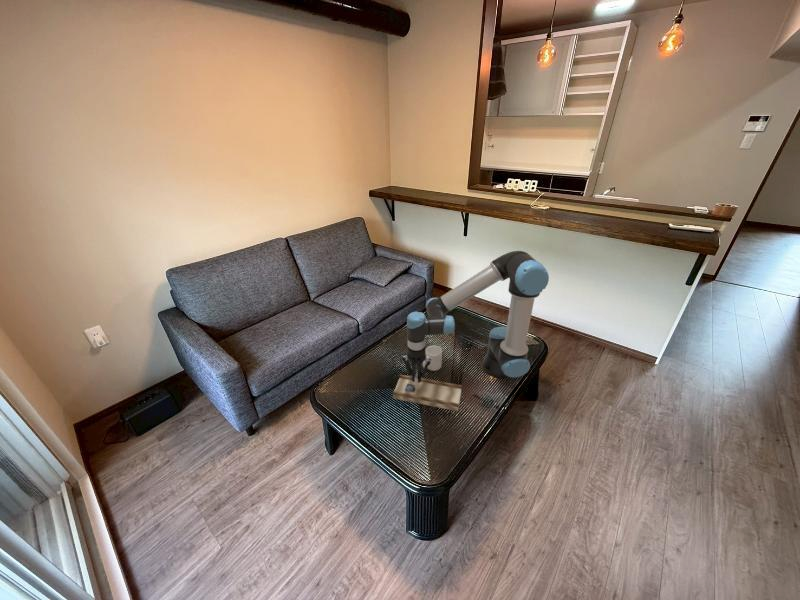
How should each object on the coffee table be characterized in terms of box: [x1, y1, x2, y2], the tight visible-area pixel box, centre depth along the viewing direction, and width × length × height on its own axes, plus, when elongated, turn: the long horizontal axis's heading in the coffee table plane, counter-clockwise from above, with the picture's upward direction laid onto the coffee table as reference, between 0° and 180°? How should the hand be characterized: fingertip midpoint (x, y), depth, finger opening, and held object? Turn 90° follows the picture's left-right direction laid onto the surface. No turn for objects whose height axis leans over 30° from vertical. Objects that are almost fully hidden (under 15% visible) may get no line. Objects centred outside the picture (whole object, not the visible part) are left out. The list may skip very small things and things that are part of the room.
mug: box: [422, 345, 443, 372], centre depth 156 cm, size 12×8×10 cm
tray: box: [392, 374, 463, 412], centre depth 141 cm, size 30×12×4 cm, turn 74°
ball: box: [406, 386, 414, 392], centre depth 143 cm, size 4×4×4 cm
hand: (416, 386), depth 141 cm, fingers closed
